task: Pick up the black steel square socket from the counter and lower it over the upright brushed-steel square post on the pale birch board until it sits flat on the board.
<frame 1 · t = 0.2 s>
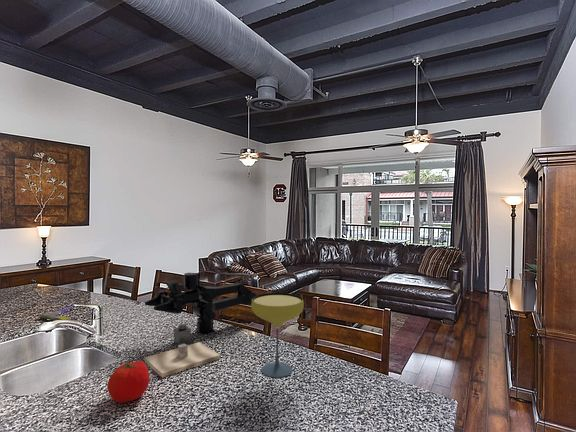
hand: (149, 306, 141), 16 cm above the worktop, fingers open, 9 cm apart
cocktail glass: (277, 370, 121), on the worktop
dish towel: (71, 315, 181), on the worktop
board: (182, 360, 129), on the worktop
tomato: (129, 398, 104), on the worktop
socket: (182, 343, 145), on the worktop
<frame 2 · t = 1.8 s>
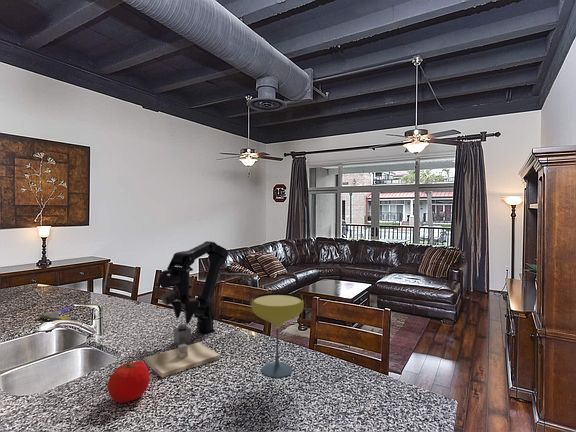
hand: (182, 320, 144), 9 cm above the worktop, fingers open, 9 cm apart
nothing on the worktop moved.
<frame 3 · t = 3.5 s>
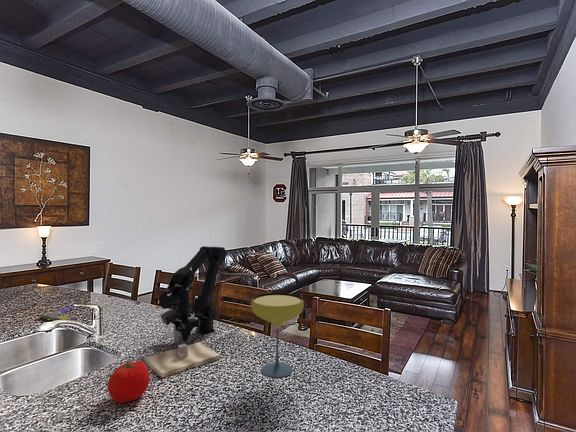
hand: (182, 339, 144), 2 cm above the worktop, fingers closed on socket, 5 cm apart
socket: (182, 343, 145), on the worktop, touching gripper
everything else where it was.
when the fingers open (4 cm above the worktop, at t = 8.7 s): socket drops 1 cm, resting on board.
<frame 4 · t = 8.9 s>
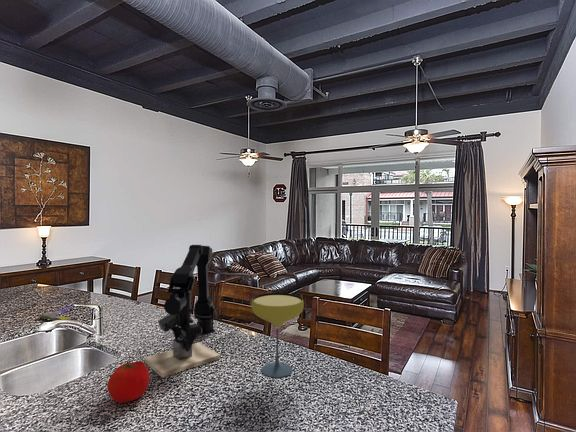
hand: (182, 348, 129), 4 cm above the worktop, fingers open, 7 cm apart
socket: (182, 356, 129), point 1 cm above the worktop, touching board
everything else where it was.
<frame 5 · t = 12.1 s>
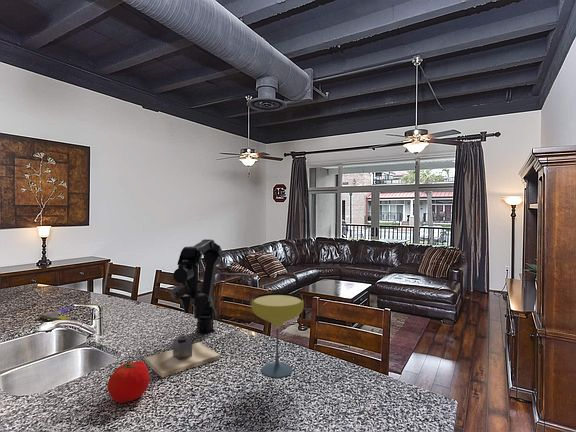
hand: (191, 315, 143), 12 cm above the worktop, fingers open, 9 cm apart
nothing on the worktop moved.
at the end: socket 0.1 cm off-centre on the board, point 1.5 cm above the board's base; socket tilted 0°; the gripper is holding nothing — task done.
